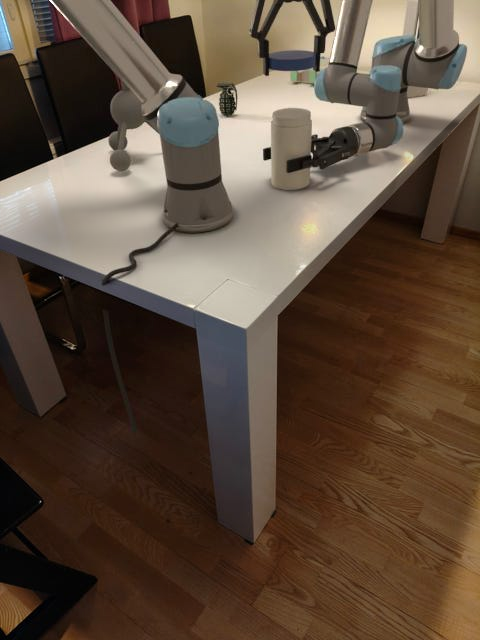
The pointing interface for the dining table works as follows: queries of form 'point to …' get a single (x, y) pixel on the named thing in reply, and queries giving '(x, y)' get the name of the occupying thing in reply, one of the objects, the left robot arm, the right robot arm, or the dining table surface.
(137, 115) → the molecular model
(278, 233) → the dining table surface
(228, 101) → the grenade
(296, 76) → the decorative block
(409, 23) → the electronic device
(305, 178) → the jar
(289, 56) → the lid
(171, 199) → the left robot arm
